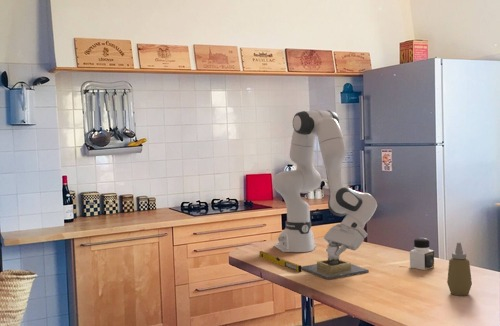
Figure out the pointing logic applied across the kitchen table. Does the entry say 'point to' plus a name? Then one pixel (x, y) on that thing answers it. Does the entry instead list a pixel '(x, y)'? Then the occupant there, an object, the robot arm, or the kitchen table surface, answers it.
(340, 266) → the collar plate
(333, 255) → the domed metal canister
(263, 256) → the spirit level
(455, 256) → the squeeze bottle
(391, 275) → the kitchen table surface
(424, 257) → the medicine bottle
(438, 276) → the kitchen table surface
